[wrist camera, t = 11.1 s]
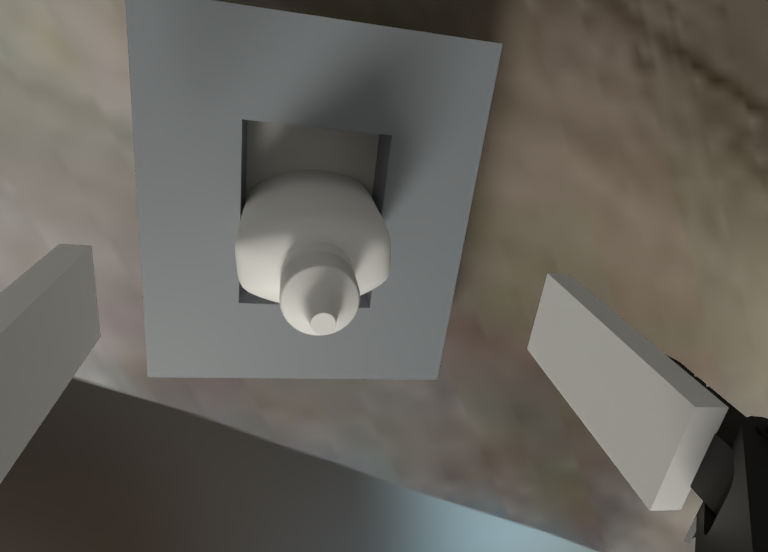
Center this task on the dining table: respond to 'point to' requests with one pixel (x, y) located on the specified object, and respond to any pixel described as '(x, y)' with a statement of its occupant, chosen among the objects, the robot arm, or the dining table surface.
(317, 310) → the eye dropper bottle
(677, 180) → the dining table surface
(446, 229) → the hole block
